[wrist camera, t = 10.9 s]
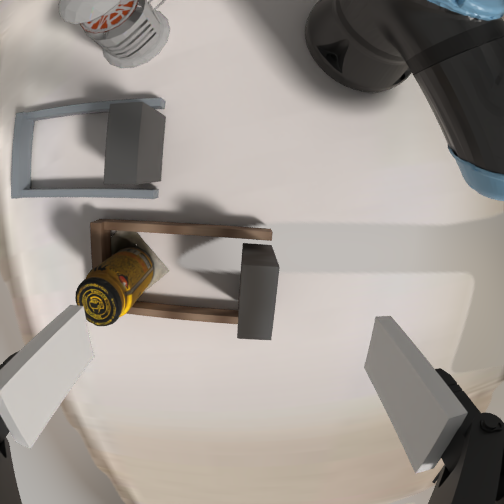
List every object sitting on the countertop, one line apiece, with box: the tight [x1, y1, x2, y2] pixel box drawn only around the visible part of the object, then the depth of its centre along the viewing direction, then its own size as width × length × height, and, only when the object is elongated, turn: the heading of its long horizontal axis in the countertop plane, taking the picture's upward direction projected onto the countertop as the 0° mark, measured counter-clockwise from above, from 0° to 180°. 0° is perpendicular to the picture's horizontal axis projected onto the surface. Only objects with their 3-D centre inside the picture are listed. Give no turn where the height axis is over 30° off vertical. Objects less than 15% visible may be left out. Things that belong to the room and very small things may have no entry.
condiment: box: [76, 231, 169, 326], centre depth 33 cm, size 7×8×12 cm
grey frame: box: [11, 98, 166, 199], centre depth 30 cm, size 22×12×9 cm, turn 86°
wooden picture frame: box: [90, 219, 279, 340], centre depth 34 cm, size 22×12×9 cm, turn 86°
